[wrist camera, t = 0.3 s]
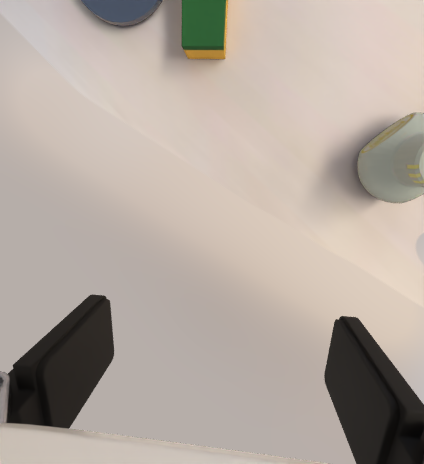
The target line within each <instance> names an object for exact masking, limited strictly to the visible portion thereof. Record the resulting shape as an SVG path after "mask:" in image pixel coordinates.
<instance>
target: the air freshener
mask: <svg viewBox="0 0 424 464" xmlns="http://www.w3.org/2000/svg"><path fill="white" fill-rule="evenodd" d="M357 168H358V175H359V178H360V181H361V183H362V185H363V186H364V188H365V189H366V190H367V191H368V192H369V193H370V194H371V195H372V196H374V197H376V198H377V199H380V200H382V201H385V202H390V203H404V202H407V201H410V200H412V199H415V198H417V197H419V196H421V195H423V194H424V113H412V114H409V115H407V116H405V117H404V118H402V119H400V120H399V121H397V122H396V123H394V124H393V125H391V126H390V127H388V128H387V129H385V130H384V131H383V132H381V133H380V134H379V135H378V136H376V137H375V138H374V139H373V140H371V141H370V142H369V143H368V144H367V145H366V146H365V147H364V148H363V149H362V150H361V151H360V153H359V157H358V165H357Z"/></svg>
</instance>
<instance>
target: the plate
mask: <svg viewBox="0 0 424 464" xmlns="http://www.w3.org/2000/svg"><path fill="white" fill-rule="evenodd" d="M81 1H82V2H83V3H84V5H85V6H86V7H87V8H88V9H89V10H90V11H91V12H92V13H93V14H94V15H96V16H97V17H98V18H100V19H101V20H103V21H105V22H107V23H110V24H114V25H119V26H127V25H133V24H136V23H139V22H141V21H143V20H144V19H146V18H148V17H149V16H150V15H151V14H152V13H153V12H154V11H155V10H156V9H157V8H158V6H159V5H160V3H161V2H162V0H81Z"/></svg>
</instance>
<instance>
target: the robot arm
mask: <svg viewBox="0 0 424 464" xmlns="http://www.w3.org/2000/svg"><path fill="white" fill-rule="evenodd" d="M113 356H114V344H113V332H112V321H111V308H110V301H109V300H108V299H106V297H105V296H102V295H90V296H89V297H88V298H86V299H85V300H84V301H83V302H82V303H81V304H80V305H79V306H78V307H76V308H75V309H74V310H73V311H72V312H71V313H70V314H69V315H68V316H67V317H65V318H64V319H63V320H62V321H61V322H60V323H59V324H58V325H57V326H55V327H54V328H53V329H52V330H51V331H50V332H49V333H48V334H47V335H46V336H44V337H43V338H42V339H41V340H40V341H39V342H38V343H37V344H36V345H35V346H33V347H32V348H31V349H30V350H29V351H28V352H27V353H26V354H25V355H24V356H23V357H21V358H20V359H19V360H18V361H17V362H16V363H15V364H14V365H13V368H14V369H13V370H11V371H10V372H9V373H8V374H7V373H5V372H1V371H0V464H328V463H321V462H314V461H307V460H300V459H293V458H286V457H279V456H272V455H265V454H258V453H251V452H243V451H236V450H229V449H221V448H214V447H206V446H199V445H192V444H184V443H177V442H169V441H162V440H154V439H147V438H139V437H130V436H123V435H115V434H107V433H99V432H92V431H84V430H76V429H69V428H70V426H71V425H72V423H73V421H74V420H75V418H76V417H77V415H78V413H79V412H80V410H81V409H82V407H83V406H84V404H85V403H86V401H87V399H88V398H89V396H90V395H91V393H92V392H93V390H94V388H95V387H96V385H97V384H98V382H99V380H100V379H101V377H102V376H103V374H104V372H105V371H106V369H107V368H108V366H109V364H110V363H111V361H112V359H113ZM325 383H326V386H327V389H328V392H329V394H330V397H331V399H332V402H333V404H334V407H335V410H336V412H337V415H338V417H339V420H340V423H341V425H342V428H343V430H344V433H345V435H346V438H347V441H348V443H349V446H350V448H351V451H352V453H353V456H354V458H355V461H356V464H424V404H423V403H422V402H421V401H420V399H419V398H418V397H417V395H416V394H415V393H414V391H413V390H412V389H411V387H410V386H409V385H408V384H407V382H406V381H405V379H404V378H403V377H402V376H401V374H400V373H399V371H398V370H397V369H396V368H395V366H394V365H393V364H392V362H391V361H390V360H389V358H388V357H387V356H386V354H385V353H384V352H383V351H382V349H381V348H380V347H379V345H378V344H377V343H376V341H375V340H374V339H373V337H372V336H371V335H370V333H369V332H368V331H367V329H366V328H365V327H364V325H363V324H362V323H361V321H360V320H359V319H358V318H356V317H346V316H341V317H340V318H339V320H337V319H336V320H335V322H334V327H333V333H332V338H331V343H330V348H329V354H328V359H327V365H326V369H325Z"/></svg>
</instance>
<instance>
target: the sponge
mask: <svg viewBox="0 0 424 464" xmlns="http://www.w3.org/2000/svg"><path fill="white" fill-rule="evenodd" d="M227 8H228V0H182V47H183V49H184V51H185V53H186V55H187V57H188V59H225V52H226V30H227Z"/></svg>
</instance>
